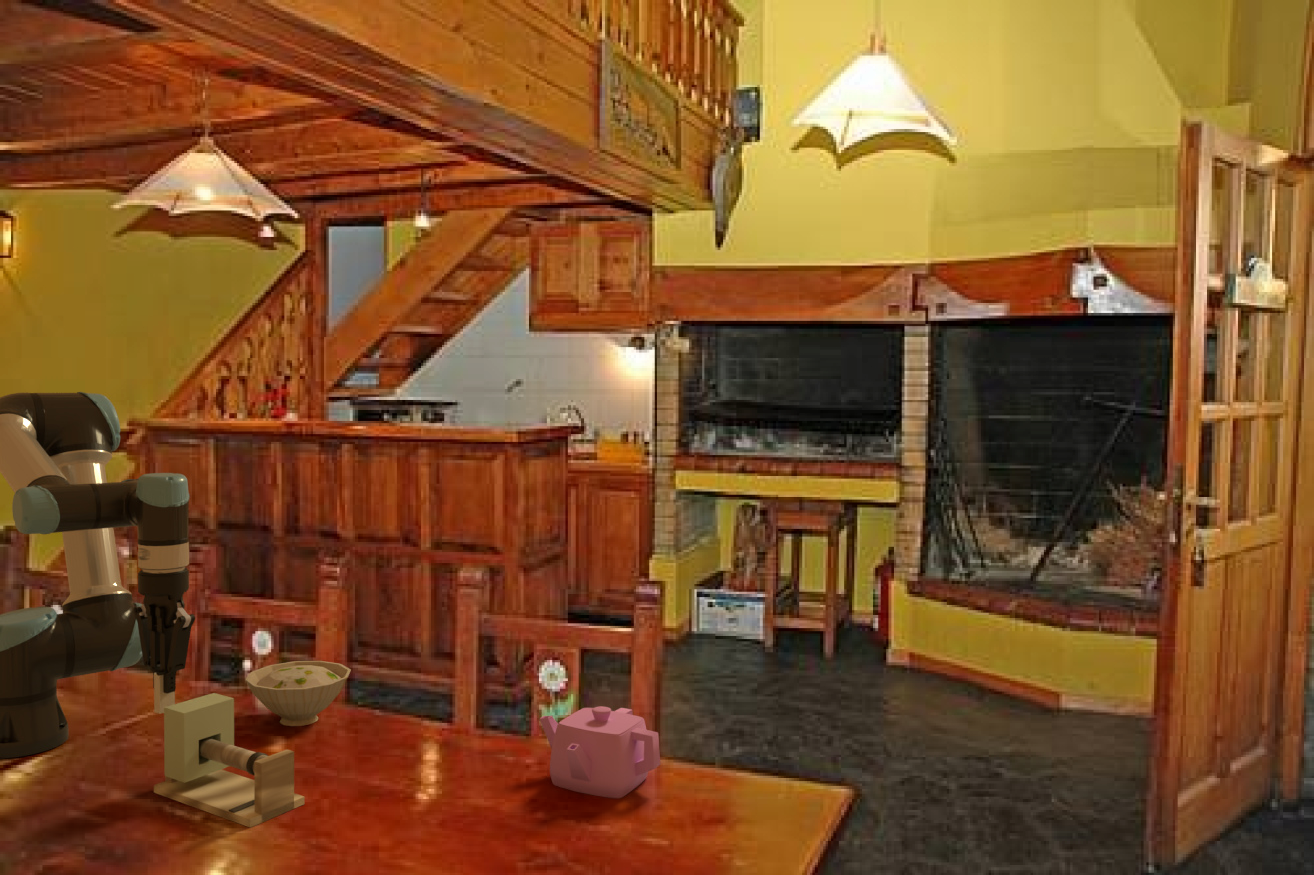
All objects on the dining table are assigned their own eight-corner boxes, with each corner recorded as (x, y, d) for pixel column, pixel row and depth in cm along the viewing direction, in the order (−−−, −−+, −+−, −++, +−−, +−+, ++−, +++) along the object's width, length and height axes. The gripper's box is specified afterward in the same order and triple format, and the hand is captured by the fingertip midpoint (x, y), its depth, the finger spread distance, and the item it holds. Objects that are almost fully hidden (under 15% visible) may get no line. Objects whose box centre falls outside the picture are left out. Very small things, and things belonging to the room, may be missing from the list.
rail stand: (153, 792, 165) (153, 736, 165) (209, 772, 174) (208, 719, 173) (250, 827, 154) (250, 767, 153) (304, 804, 162) (304, 747, 162)
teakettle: (665, 794, 170) (667, 719, 169) (564, 807, 164) (566, 730, 163) (630, 757, 186) (631, 689, 185) (537, 768, 180) (538, 697, 179)
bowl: (311, 697, 214) (311, 649, 213) (372, 717, 203) (372, 667, 202) (224, 722, 198) (224, 670, 198) (285, 745, 187) (285, 690, 187)
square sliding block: (164, 775, 165) (164, 707, 164) (214, 758, 172) (214, 692, 172) (184, 782, 162) (184, 713, 161) (234, 764, 170) (234, 698, 169)
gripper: (117, 567, 170) (119, 709, 171) (167, 576, 163) (168, 724, 165) (159, 560, 176) (160, 698, 178) (209, 569, 170) (210, 712, 171)
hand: (164, 710), depth 171 cm, fingers closed
